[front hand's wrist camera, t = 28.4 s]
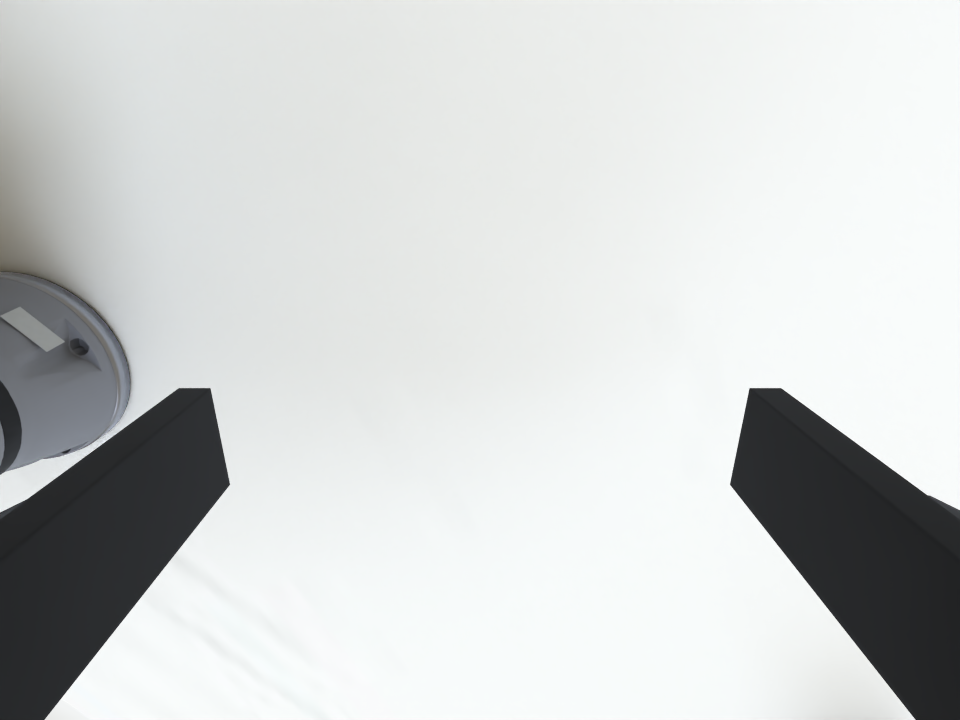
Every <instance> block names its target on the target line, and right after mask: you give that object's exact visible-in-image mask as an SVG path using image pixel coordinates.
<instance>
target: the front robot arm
mask: <svg viewBox="0 0 960 720" xmlns="http://www.w3.org/2000/svg"><path fill="white" fill-rule="evenodd" d="M129 393H130V375H129V370H128V365H127V362H126V358H125V356H124V353H123V351H122V348H121V346H120V344H119V342H118V341H117V339H116V337H115V336H114V334H113V332H112V331H111V330H110V328H109V327H108V326H107V324H106V323H105V322H104V321H103V320H102V318H101V317H100V316H99V315H98V314H97V313H96V312H95V311H94V310H93V309H92V308H91V307H89V306H88V305H87V304H86V303H85V302H83V301H82V300H81V299H79V298H78V297H77V296H75V295H74V294H72V293H71V292H69V291H67V290H66V289H64V288H62V287H60V286H58V285H56V284H54V283H51V282H49V281H47V280H44V279H41V278H38V277H35V276H31V275H27V274H21V273H14V272H0V475H1V474H2V473H4V472H5V471H9V470H13V469H16V468H19V467H23V466H26V465H29V464H32V463H34V462H36V461H39V460H40V459H48V458H54V457H59V456H63V455H66V454H69V453H72V452H75V451H77V450H80V449H82V448H84V447H86V446H88V445H90V444H91V443H93V442H94V441H96V440H97V439H99V438H100V437H101V436H103V435H104V434H106V433H107V432H108V431H109V430H111V429H112V428H113V427H114V426H115V425H116V424H117V422H118V421H119V420H120V418H121V417H122V415H123V413H124V411H125V409H126V406H127V403H128V399H129ZM229 485H230V483H229V478H228V473H227V468H226V463H225V458H224V453H223V448H222V443H221V438H220V433H219V428H218V424H217V419H216V414H215V409H214V404H213V399H212V394H211V389H210V388H179V389H177V390H176V391H175V392H173V393H172V394H170V395H169V396H168V397H166V398H165V399H164V400H162V401H161V402H160V403H158V404H157V405H155V406H154V407H153V408H151V409H150V410H149V411H147V412H146V413H145V414H143V415H142V416H140V417H139V418H138V419H136V420H135V421H134V422H132V423H131V424H130V425H128V426H127V427H125V428H124V429H123V430H121V431H120V432H119V433H117V434H116V435H114V436H113V437H112V438H110V439H109V440H108V441H106V442H105V443H104V444H102V445H101V446H99V447H98V448H97V449H95V450H94V451H93V452H91V453H90V454H89V455H87V456H86V457H84V458H83V459H82V460H80V461H79V462H78V463H76V464H75V465H74V466H72V467H71V468H69V469H68V470H67V471H65V472H64V473H63V474H61V475H60V476H59V477H57V478H56V479H54V480H53V481H52V482H50V483H49V484H48V485H46V486H45V487H43V488H42V489H41V490H39V491H38V492H37V493H35V494H34V495H33V496H31V497H30V498H28V499H27V500H25V501H23V502H21V503H19V504H17V505H15V506H13V507H11V508H9V509H7V510H5V511H3V512H1V513H0V720H44V719H45V718H46V717H47V716H48V714H49V713H50V712H51V711H52V709H53V708H54V707H55V705H56V704H57V703H58V702H59V700H60V699H61V698H62V697H63V695H64V694H65V693H66V692H67V690H68V689H69V688H70V687H71V685H72V684H73V683H74V681H75V680H76V679H77V678H78V676H79V675H80V674H81V673H82V671H83V670H84V669H85V668H86V666H87V665H88V664H89V662H90V661H91V660H92V659H93V657H94V656H95V655H96V654H97V652H98V651H99V650H100V649H101V647H102V646H103V645H104V643H105V642H106V641H107V640H108V638H109V637H110V636H111V635H112V633H113V632H114V631H115V630H116V628H117V627H118V626H119V624H120V623H121V622H122V621H123V619H124V618H125V617H126V616H127V614H128V613H129V612H130V611H131V609H132V608H133V607H134V605H135V604H136V603H137V602H138V600H139V599H140V598H141V597H142V595H143V594H144V593H145V592H146V590H147V589H148V588H149V586H150V585H151V584H152V583H153V581H154V580H155V579H156V578H157V576H158V575H159V574H160V573H161V571H162V570H163V569H164V567H165V566H166V565H167V564H168V562H169V561H170V560H171V559H172V557H173V556H174V555H175V554H176V552H177V551H178V550H179V548H180V547H181V546H182V545H183V543H184V542H185V541H186V540H187V538H188V537H189V536H190V535H191V533H192V532H193V531H194V529H195V528H196V527H197V526H198V524H199V523H200V522H201V521H202V519H203V518H204V517H205V516H206V514H207V513H208V512H209V510H210V509H211V508H212V507H213V505H214V504H215V503H216V502H217V500H218V499H219V498H220V497H221V495H222V494H223V493H224V491H225V490H226V489H227V488H228V486H229ZM730 485H731V486H732V488H733V489H734V490H735V491H736V493H737V494H738V495H739V497H740V498H741V499H742V500H743V502H744V503H745V504H746V505H747V507H748V508H749V509H750V510H751V512H752V513H753V514H754V516H755V517H756V518H757V519H758V521H759V522H760V523H761V524H762V526H763V527H764V528H765V529H766V531H767V532H768V533H769V535H770V536H771V537H772V538H773V540H774V541H775V542H776V543H777V545H778V546H779V547H780V548H781V550H782V551H783V552H784V554H785V555H786V556H787V557H788V559H789V560H790V561H791V562H792V564H793V565H794V566H795V567H796V569H797V570H798V571H799V573H800V574H801V575H802V576H803V578H804V579H805V580H806V581H807V583H808V584H809V585H810V586H811V588H812V589H813V590H814V592H815V593H816V594H817V595H818V597H819V598H820V599H821V600H822V602H823V603H824V604H825V605H826V607H827V608H828V609H829V611H830V612H831V613H832V614H833V616H834V617H835V618H836V619H837V621H838V622H839V623H840V624H841V626H842V627H843V628H844V630H845V631H846V632H847V633H848V635H849V636H850V637H851V638H852V640H853V641H854V642H855V643H856V645H857V646H858V647H859V649H860V650H861V651H862V652H863V654H864V655H865V656H866V657H867V659H868V660H869V661H870V662H871V664H872V665H873V666H874V668H875V669H876V670H877V671H878V673H879V674H880V675H881V676H882V678H883V679H884V680H885V681H886V683H887V684H888V685H889V687H890V688H891V689H892V690H893V692H894V693H895V694H896V695H897V697H898V698H899V699H900V700H901V702H902V703H903V704H904V706H905V707H906V708H907V709H908V711H909V712H910V713H911V714H912V716H913V717H914V718H915V719H916V720H960V510H958V509H956V508H954V507H952V506H950V505H948V504H946V503H944V502H942V501H940V500H938V499H936V498H934V497H931V496H927V495H926V494H925V493H923V492H922V491H921V490H919V489H918V488H917V487H915V486H914V485H912V484H911V483H910V482H908V481H907V480H906V479H904V478H903V477H901V476H900V475H899V474H897V473H896V472H895V471H893V470H892V469H891V468H889V467H888V466H886V465H885V464H884V463H882V462H881V461H880V460H878V459H877V458H876V457H874V456H873V455H871V454H870V453H869V452H867V451H866V450H865V449H863V448H862V447H861V446H859V445H858V444H856V443H855V442H854V441H852V440H851V439H850V438H848V437H847V436H846V435H844V434H843V433H841V432H840V431H839V430H837V429H836V428H835V427H833V426H832V425H830V424H829V423H828V422H826V421H825V420H824V419H822V418H821V417H820V416H818V415H817V414H815V413H814V412H813V411H811V410H810V409H809V408H807V407H806V406H805V405H803V404H802V403H800V402H799V401H798V400H796V399H795V398H794V397H792V396H791V395H790V394H788V393H787V392H785V391H784V390H783V389H781V388H750V389H749V394H748V399H747V404H746V409H745V414H744V419H743V424H742V428H741V433H740V438H739V443H738V448H737V453H736V458H735V463H734V468H733V473H732V478H731V483H730Z"/></svg>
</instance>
